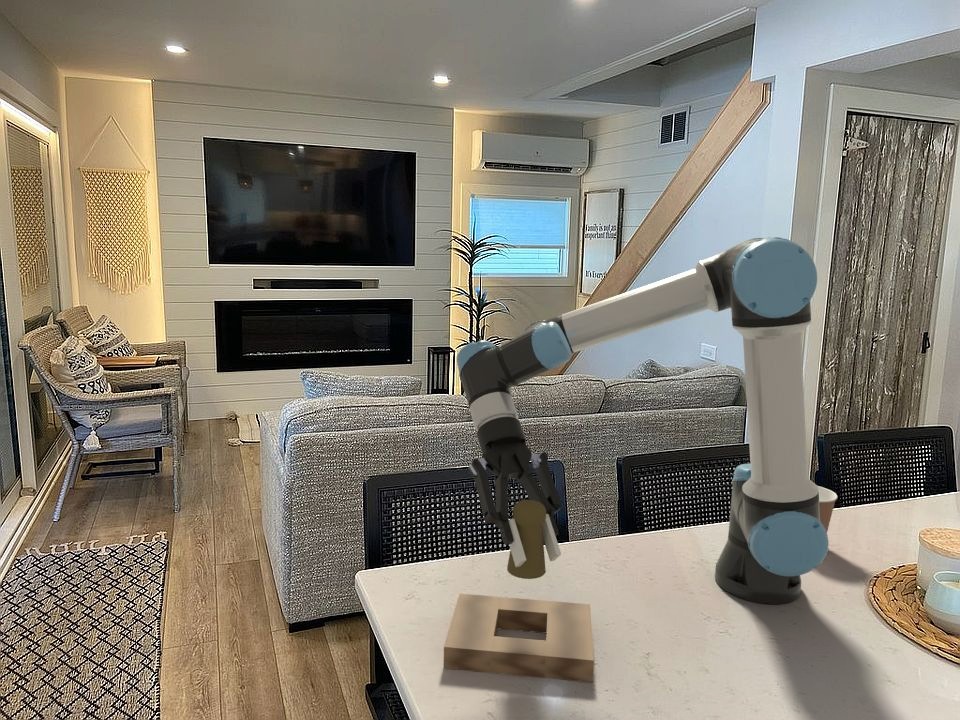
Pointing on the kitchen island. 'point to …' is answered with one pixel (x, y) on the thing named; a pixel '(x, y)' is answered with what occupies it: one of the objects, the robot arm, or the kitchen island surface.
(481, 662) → the wooden block with hole
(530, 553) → the cork
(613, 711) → the kitchen island surface
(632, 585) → the kitchen island surface
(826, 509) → the coffee cup
